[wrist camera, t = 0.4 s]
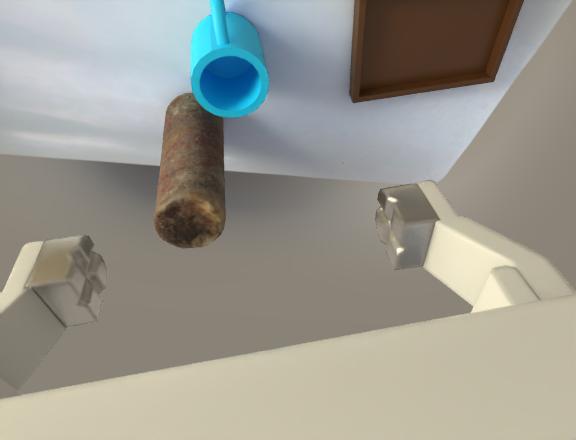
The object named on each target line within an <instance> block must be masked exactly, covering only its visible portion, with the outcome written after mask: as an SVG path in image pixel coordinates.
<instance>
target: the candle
mask: <svg viewBox="0 0 576 440" xmlns="http://www.w3.org/2000/svg"><path fill="white" fill-rule="evenodd" d="M225 219H226V212H225V179H224V133H223V117H221V116H217V115H214V114H212V113H211V112H209V111H207V110H206V109H204V108H203V107H202V106H201V105H200V104H199V102H198V101H197V100H196V98H195V96H194V94H193V93H186V94H183V95H180V96H178V97H176V98H175V99H174V100H173V101H172V102H171V103H170V105H169V106H168V108H167V111H166V117H165V126H164V134H163V145H162V154H161V164H160V175H159V183H158V191H157V201H156V208H155V216H154V225H155V228H156V231H157V233H158V235H159V236H160V237H161V238H162V239H163V240H164V241H166V242H168V243H170V244H172V245H174V246H176V247H180V248H194V247H203V246H206V245H208V244H210V243H212V242H213V241H215V240H216V239H217V238H218V237H219V236H220V235H221V233H222V231H223V230H224V225H225Z"/></svg>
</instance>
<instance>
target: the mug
mask: <svg viewBox="0 0 576 440" xmlns="http://www.w3.org/2000/svg"><path fill="white" fill-rule="evenodd" d="M210 5H211V12H212V14H211V15H209V16H207V17H206V18H205V19H203V20H202V21H201V22H200V23H199V24H198V26H197V27H196V29H195V30H194V33H193V37H192V41H191V85H192V91H193V94H194V96H195V98H196V100H197V101H198V102H199V104H200V105H201V106H202V107H203V108H204V109H206V110H207V111H209V112H211V113H212V114H214V115H217V116H221V117H225V118H237V117H241V116H244V115H248V114H249V113H251V112H253V111H254V110H256V109H257V108H258V107H259V106H260V105H261V104H262V103H263V102H264V100H265V98H266V95H267V93H268V91H269V77H268V72H267V68H266V63H265V59H264V54H263V50H262V45H261V41H260V38H259V34H258V32H257V30H256V29H255V27H254V26H253V24H252V23H251V22H249V21H248V20H247V19H246V18H244V17H243V16H241V15H238V14H235V13H233V12H226V10H225V5H224V0H210Z"/></svg>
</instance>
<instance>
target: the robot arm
mask: <svg viewBox="0 0 576 440" xmlns="http://www.w3.org/2000/svg"><path fill="white" fill-rule="evenodd" d="M378 201H379V203H380V205H381V206H380V207H379V208H378V209H377V211H376V218H375V221H376V229H377V232H378V236H379V238H380V240H381V242H383V243H384V244H386V245H387V252H386V253H387V256H388V258H389V260H390V262H391V264H392V266H393V268H394V270H400V269H406V268H413V267H421V266H423V268H424V269H426V270H427V271H428V272H430V273H431V274H432V275H433V276H435V277H436V278H437V279H439V280H440V281H441V282H442V283H444V284H445V285H446V286H448V287H449V288H450V289H452V290H453V291H454V292H456V293H457V294H459V296H461V297H462V298H463V299H465V300H466V301H467V302H468V303H470V304H471V305H472V306H474V307H473V309H472V311H471V313H468V314H462V315H457V316H451V317H446V318H440V319H435V320H429V321H424V322H419V323H413V324H408V325H402V326H397V327H391V328H386V329H380V330H375V331H369V332H364V333H359V334H353V335H348V336H342V337H337V338H331V339H326V340H320V341H315V342H309V343H304V344H299V345H293V346H288V347H282V348H277V349H271V350H266V351H261V352H255V353H249V354H244V355H239V356H233V357H228V358H222V359H216V360H211V361H205V362H200V363H194V364H189V365H183V366H178V367H173V368H167V369H162V370H156V371H151V372H145V373H140V374H134V375H129V376H123V377H118V378H112V379H107V380H102V381H96V382H90V383H85V384H79V385H74V386H69V387H64V388H58V389H53V390H47V391H42V392H36V393H31V394H25V395H23V394H22V393H20V392H19V390H20V389H21V387H22V386H23V385H24V384H25V382H26V381H27V380H28V378H29V377H30V376H31V374H32V373H33V372H34V371H35V369H36V368H37V367H38V366H39V364H40V363H41V362H42V360H43V359H44V358H45V356H46V355H47V354H48V353H49V351H50V350H51V349H52V348H53V346H54V345H55V344H56V342H57V341H58V340H59V339H60V337H61V336H62V335H63V333H64V332H65V331H66V328H67V327H71V326H77V325H82V324H87V323H92V322H97V321H98V320H99V316H100V311H101V306H102V302H103V300H102V299H101V297H100V296H99V294H100V293H101V292H102V290H104V289H105V287H106V282H107V268H106V265H105V262H104V260H103V258H102V257H101V255H100V254H98V253H96V252H94V251H93V247H94V244H93V242H92V240H91V239H90V237H89V236H86V235H80V236H73V237H66V238H58V239H50V240H46V241H38V242H31V243H27V244H26V245H24V246H23V247H22V250H21V252H20V254H19V256H18V259H17V261H16V263H15V265H14V268H13V270H12V272H11V274H10V276H9V279H8V281H7V283H6V285H5V288H4V290H3V292H1V293H0V440H576V291H575V290H574V288H573V287H572V286H571V285H570V284H569V283H568V282H567V280H566V279H565V278H564V277H563V275H562V274H561V273H560V272H559V271H558V269H557V268H556V267H555V266H554V265H553V264H552V262H551V261H550V260H549V259H548V258H547V257H545V256H544V255H542V254H540V253H538V252H536V251H534V250H532V249H530V248H527V247H526V246H524V245H522V244H519V243H518V242H516V241H513V240H511V239H509V238H507V237H505V236H503V235H501V234H499V233H497V232H495V231H493V230H491V229H489V228H487V227H485V226H483V225H481V224H479V223H477V222H475V221H473V220H471V219H469V218H467V217H460V216H459V215H458V214H457V212H456V211H455V209H454V208H453V207H452V205H451V204H450V202H449V201H448V200H447V198H446V197H445V195H444V194H443V193H442V191H441V190H440V188H439V187H438V186H437V184H436V183H435V182H434V181H432V180H428V181H423V182H417V183H414V184H413V183H412V184H406V185H400V186H394V187H388V188H382V189H380V191H379V193H378Z"/></svg>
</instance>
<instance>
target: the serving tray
mask: <svg viewBox="0 0 576 440" xmlns="http://www.w3.org/2000/svg"><path fill="white" fill-rule="evenodd" d="M523 2H524V0H355V4H354V21H353V38H352V55H351V73H350V90H349V95H350V97H351V99H352V102H353V103H357V102H363V101H370V100H377V99H383V98H390V97H396V96H403V95H410V94H416V93H423V92H429V91H436V90H443V89H449V88H456V87H463V86H469V85H476V84H482V83H489V82H494V80H495V76H496V74H497V72H498V69H499V66H500V64H501V61H502V58H503V55H504V53H505V50H506V47H507V45H508V42H509V39H510V37H511V34H512V31H513V29H514V26H515V23H516V20H517V18H518V15H519V12H520V10H521V7H522V4H523Z"/></svg>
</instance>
